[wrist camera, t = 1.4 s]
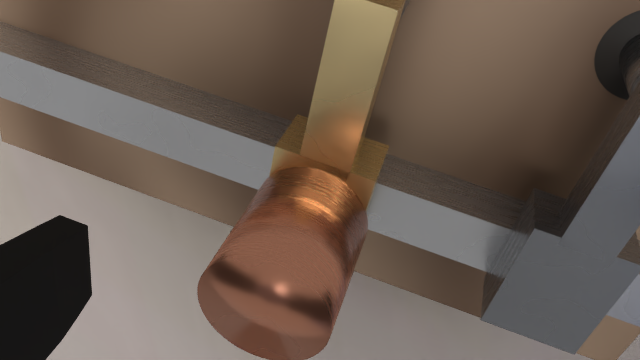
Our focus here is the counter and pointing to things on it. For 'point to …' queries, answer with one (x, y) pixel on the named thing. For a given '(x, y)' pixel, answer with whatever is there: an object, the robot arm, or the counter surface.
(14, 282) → the robot arm
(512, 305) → the fixed leg
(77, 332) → the counter surface
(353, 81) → the sliding leg
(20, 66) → the steel beam
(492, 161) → the hole plate
